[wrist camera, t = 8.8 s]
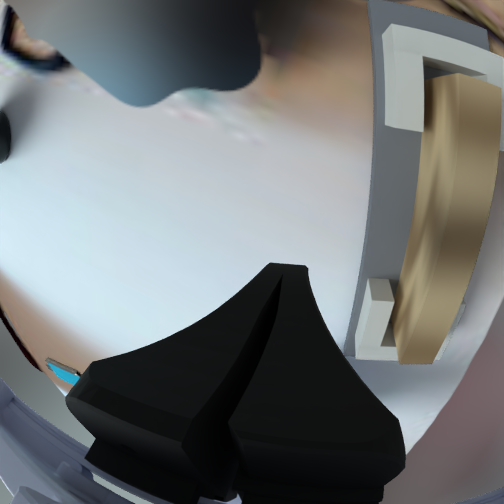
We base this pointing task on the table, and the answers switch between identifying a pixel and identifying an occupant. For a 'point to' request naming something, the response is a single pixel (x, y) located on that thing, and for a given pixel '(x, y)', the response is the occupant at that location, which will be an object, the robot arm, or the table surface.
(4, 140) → the supplement bottle
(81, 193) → the table surface
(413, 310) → the slat
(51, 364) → the phone stand
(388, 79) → the cradle
